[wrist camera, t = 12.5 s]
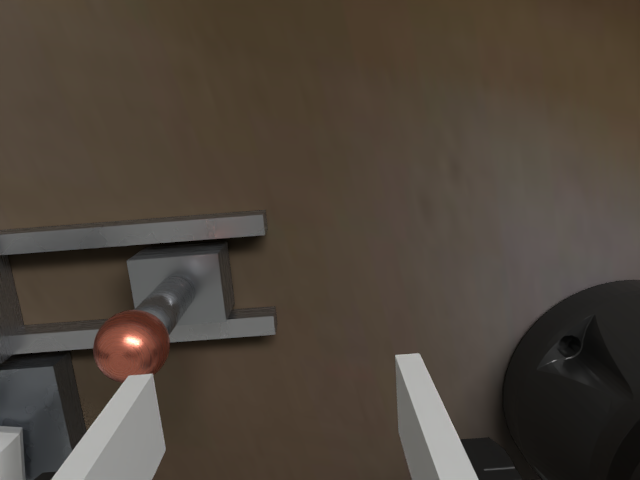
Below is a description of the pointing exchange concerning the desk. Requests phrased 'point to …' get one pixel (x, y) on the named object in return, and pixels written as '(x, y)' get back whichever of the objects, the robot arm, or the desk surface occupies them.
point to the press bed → (42, 408)
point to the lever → (164, 305)
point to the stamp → (11, 453)
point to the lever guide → (3, 306)
